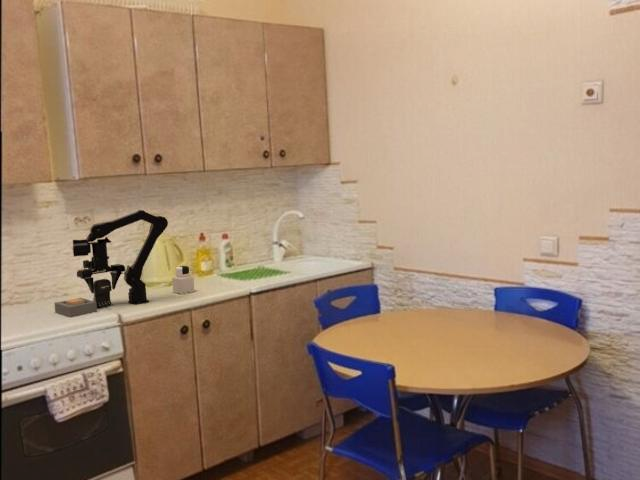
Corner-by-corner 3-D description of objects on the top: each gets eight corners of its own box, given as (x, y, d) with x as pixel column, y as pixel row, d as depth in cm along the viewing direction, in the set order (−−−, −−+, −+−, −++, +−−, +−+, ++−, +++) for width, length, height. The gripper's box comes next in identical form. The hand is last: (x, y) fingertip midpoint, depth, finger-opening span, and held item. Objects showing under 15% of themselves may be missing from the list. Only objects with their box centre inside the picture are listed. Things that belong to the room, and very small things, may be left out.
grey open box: (81, 307, 255) (80, 297, 255) (97, 311, 246) (96, 302, 245) (55, 312, 247) (54, 302, 247) (70, 317, 238) (69, 307, 237)
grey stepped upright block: (186, 290, 284) (184, 264, 283) (194, 291, 279) (193, 265, 278) (172, 292, 279) (171, 266, 278) (181, 294, 274) (179, 268, 273)
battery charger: (99, 308, 251) (97, 281, 250) (94, 307, 253) (91, 280, 252) (114, 305, 257) (112, 278, 255) (108, 304, 259) (106, 277, 258)
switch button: (78, 303, 250) (77, 298, 250) (84, 305, 246) (84, 300, 246) (66, 306, 246) (65, 300, 246) (72, 308, 242) (72, 302, 242)
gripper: (111, 250, 265) (114, 285, 267) (69, 255, 251) (72, 293, 253) (124, 251, 257) (127, 288, 259) (81, 257, 244) (84, 296, 246)
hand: (103, 291), depth 254 cm, fingers open, 9 cm apart
